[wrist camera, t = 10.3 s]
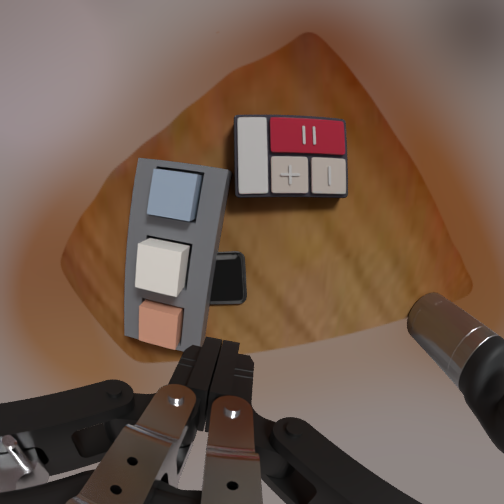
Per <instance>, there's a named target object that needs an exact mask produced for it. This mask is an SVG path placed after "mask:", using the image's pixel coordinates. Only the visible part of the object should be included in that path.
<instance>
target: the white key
mask: <svg viewBox="0 0 504 504" xmlns="http://www.w3.org/2000/svg"><path fill="white" fill-rule="evenodd" d="M189 249H190V246H189V245H183V244H178V243H173V242H168V241H163V240H158V239H153V238H149V239H147V240H144V241H142V242H140V243H138V250H137V262H136V278H135V287H137V288H141V289H145V290H149V291H153V292H157V293H161V294H166V295H170V296H174V297H177V296H178V295H179V293H180V292H181V291H182V289H183V288H184V287H185V279H186V271H187V263H188V256H189Z"/></svg>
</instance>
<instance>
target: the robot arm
mask: <svg viewBox="0 0 504 504" xmlns="http://www.w3.org/2000/svg"><path fill="white" fill-rule="evenodd" d="M407 329H408V332H409V333H410V335H411V336H412V337H413V338H414V339H415V340H416V341H417V343H418V344H419V345H420V346H421V347H422V348H423V349H424V350H425V351H426V352H427V353H428V355H429V356H430V357H431V358H432V359H433V360H434V361H435V362H436V363H437V364H438V366H439V367H440V368H441V369H442V370H443V371H444V372H445V373H446V375H447V376H448V377H449V378H450V379H451V380H452V381H453V382H454V384H455V385H456V386H457V387H458V388H459V390H460V391H461V392H462V393H463V395H464V398H465V401H466V403H467V404H468V406H469V407H470V409H471V410H472V412H473V413H474V414H475V416H476V417H477V419H478V420H479V422H480V423H481V425H482V427H483V428H484V430H485V431H486V433H487V434H488V436H489V438H490V439H491V440H492V442H493V443H494V444H495V446H496V447H497V448H498V449H499V450H500V451H502V452H503V453H504V339H503V338H502V337H500V336H499V335H497V334H496V333H495V332H493V331H492V330H491V329H489V328H488V327H486V326H485V325H484V324H482V323H481V322H479V321H478V320H476V319H475V318H474V317H472V316H471V315H469V314H468V313H467V312H465V311H464V310H462V309H461V308H459V307H458V306H457V305H455V304H454V303H452V302H451V301H449V300H448V299H446V298H445V297H443V296H442V295H440V294H438V293H429V294H426V295H425V296H423V297H422V298H420V299H419V300H418V301H417V302H416V303H415V305H414V306H413V308H412V309H411V311H410V313H409V316H408V320H407ZM239 344H240V343H238V342H232V341H227V340H223V344H222V340H221V339H216V338H211V337H206V338H205V340H204V343H203V345H202V347H201V346H196V345H191V346H190V347H188V348H187V349H185V350H184V353H183V355H182V357H181V359H180V361H179V363H178V365H177V367H176V369H175V371H174V373H173V375H172V378H171V379H170V382H169V384H168V385H165V386H163V387H161V388H160V389H159V390H158V391H157V392H156V393H154V394H136V393H133V389H132V388H131V387H130V386H129V385H128V384H127V383H125V382H123V381H120V380H106V381H102V382H99V383H95V384H91V385H88V386H84V387H80V388H76V389H71V390H67V391H63V392H59V393H55V394H50V395H45V396H40V397H35V398H30V399H25V400H19V401H14V402H8V403H1V404H0V504H263V500H262V486H261V479H262V480H263V481H264V482H265V483H266V484H267V485H268V486H269V487H270V488H271V489H272V490H273V491H274V492H275V493H276V494H277V495H278V496H279V497H280V498H281V499H282V500H283V501H284V502H285V503H286V504H422V503H420V502H418V501H416V500H415V499H413V498H411V497H410V496H408V495H406V494H405V493H403V492H402V491H400V490H398V489H397V488H395V487H394V486H392V485H391V484H389V483H388V482H386V481H384V480H383V479H381V478H380V477H378V476H377V475H375V474H374V473H373V472H371V471H370V470H368V469H367V468H365V467H364V466H363V465H361V464H360V463H358V462H357V461H356V460H354V459H353V458H352V457H350V456H349V455H348V454H346V453H345V452H344V451H342V450H341V449H340V448H338V447H337V446H336V445H334V444H333V443H332V442H331V441H329V440H328V439H327V438H326V437H324V436H323V435H322V434H321V433H319V432H318V431H317V430H316V429H314V428H313V427H312V426H311V425H310V424H308V423H307V422H306V421H304V420H301V419H299V418H294V417H286V418H283V419H280V420H278V421H277V422H273V421H271V420H268V419H265V418H263V417H261V416H260V415H258V414H257V413H256V412H255V411H254V409H253V407H252V405H251V400H252V385H253V371H254V362H253V361H252V359H251V357H250V356H249V355H243V354H238V350H239ZM205 422H206V426H205ZM97 424H98V425H97ZM94 425H95V426H94ZM91 426H92V427H91ZM204 426H205V432H208V440H207V448H206V457H205V465H204V474H203V485H202V491H196V490H180V489H178V483H179V479H180V476H181V474H182V471H183V469H184V466H185V464H186V461H187V459H188V456H189V454H190V451H191V448H192V446H193V441H194V439H195V436H196V432H197V430H199V431H203V430H204ZM84 428H85V429H84ZM77 430H78V431H77ZM100 461H101V462H100ZM97 462H100V463H99V465H98V466H97V468H96V469H95V470H89V471H84V472H81V473H78V474H76V475H72V476H69V477H66V478H63V479H59V480H55V481H52V482H48V479H49V476H52V475H56V474H60V473H64V472H68V471H71V470H75V469H78V468H81V467H85V466H88V465H91V464H94V463H97ZM47 482H48V483H47Z"/></svg>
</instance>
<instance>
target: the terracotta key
mask: <svg viewBox="0 0 504 504" xmlns="http://www.w3.org/2000/svg"><path fill="white" fill-rule="evenodd" d="M183 318H184V308H182V307H177V306H173V305H169V304H165V303H161V302H157V301H153V300H149V299H146V300H145V301H144V302H143V303H142V304H141V305H140V306H139V340H140V341H144V342H147V343H151V344H154V345H158V346H162V347H165V348H169V349H173V350H175V349H176V347H177V345H178V343H179V342H180V340H181V338H182V328H183Z"/></svg>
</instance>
